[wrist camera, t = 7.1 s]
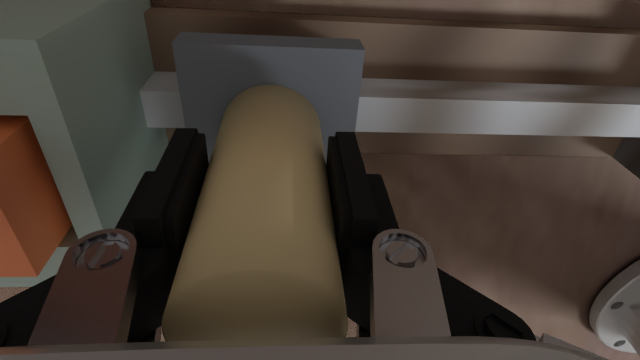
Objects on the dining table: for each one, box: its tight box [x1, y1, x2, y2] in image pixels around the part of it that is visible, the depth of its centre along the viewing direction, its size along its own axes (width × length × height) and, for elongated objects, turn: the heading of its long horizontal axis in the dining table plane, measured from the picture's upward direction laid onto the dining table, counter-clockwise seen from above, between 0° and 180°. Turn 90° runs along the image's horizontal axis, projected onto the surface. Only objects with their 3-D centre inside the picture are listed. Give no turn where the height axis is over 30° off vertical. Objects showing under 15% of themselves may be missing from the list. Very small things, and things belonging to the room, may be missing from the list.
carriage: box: [162, 32, 365, 342], centre depth 12 cm, size 6×6×11 cm
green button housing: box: [0, 0, 168, 287], centre depth 14 cm, size 6×8×8 cm
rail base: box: [140, 7, 640, 179], centre depth 17 cm, size 23×6×4 cm, turn 87°
